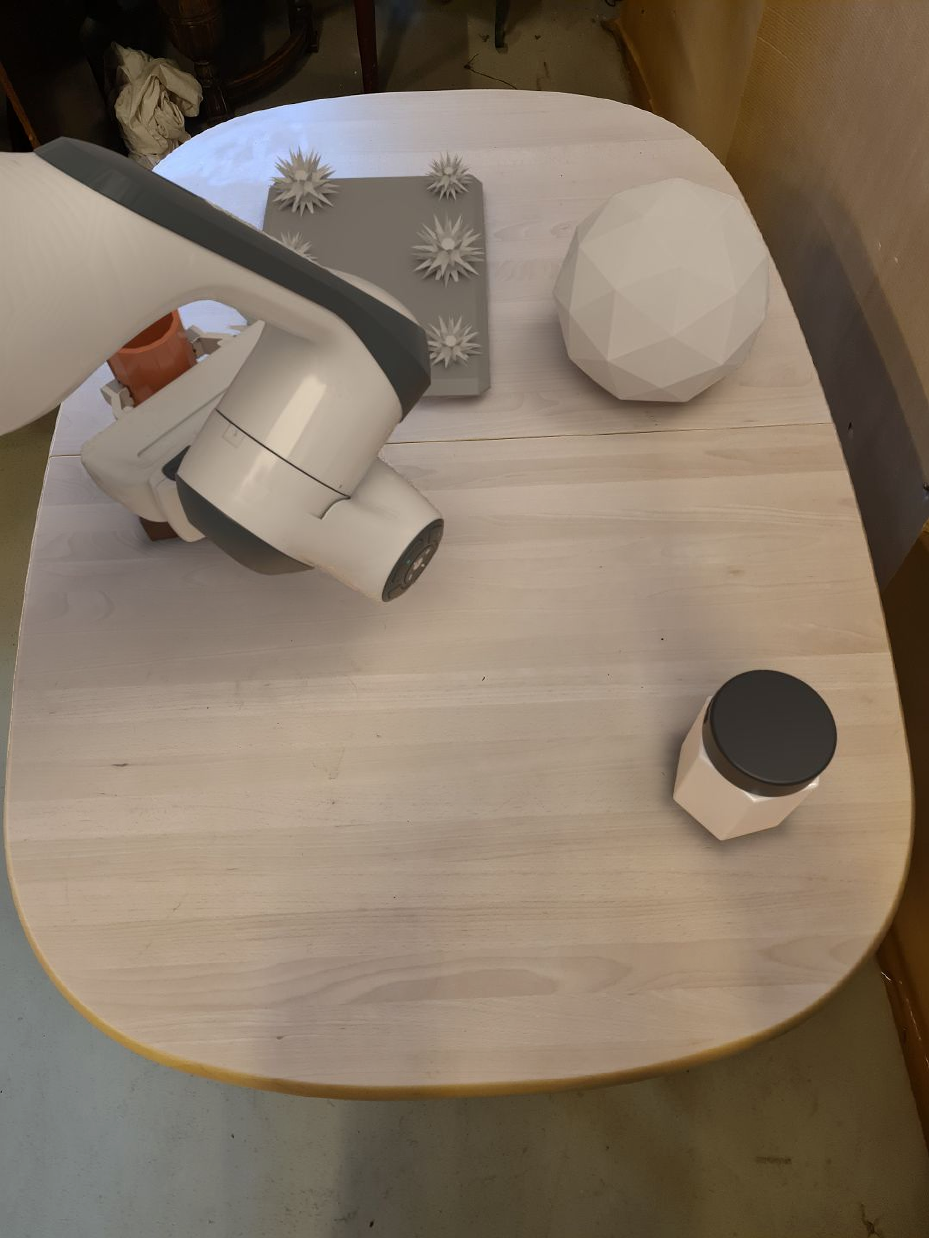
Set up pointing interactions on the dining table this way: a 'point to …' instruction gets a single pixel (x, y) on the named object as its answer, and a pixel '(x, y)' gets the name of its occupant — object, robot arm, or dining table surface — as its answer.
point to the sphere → (663, 291)
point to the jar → (754, 753)
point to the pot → (154, 358)
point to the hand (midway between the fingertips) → (149, 362)
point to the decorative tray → (399, 252)
